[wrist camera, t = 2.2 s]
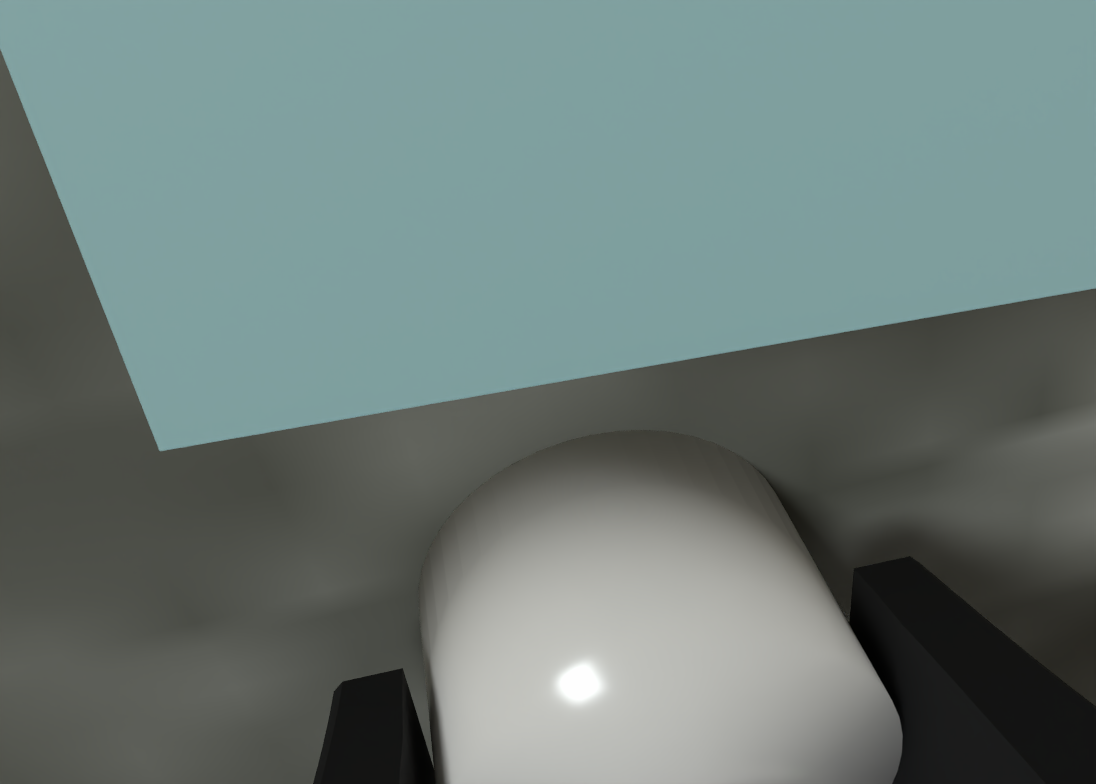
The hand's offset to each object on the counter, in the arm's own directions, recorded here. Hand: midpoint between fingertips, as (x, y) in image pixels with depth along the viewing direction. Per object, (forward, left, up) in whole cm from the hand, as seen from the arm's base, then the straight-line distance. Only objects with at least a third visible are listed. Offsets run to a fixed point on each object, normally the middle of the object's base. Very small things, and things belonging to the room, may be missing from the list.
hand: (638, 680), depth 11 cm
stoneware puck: (0, 0, -2) cm, 2 cm away
